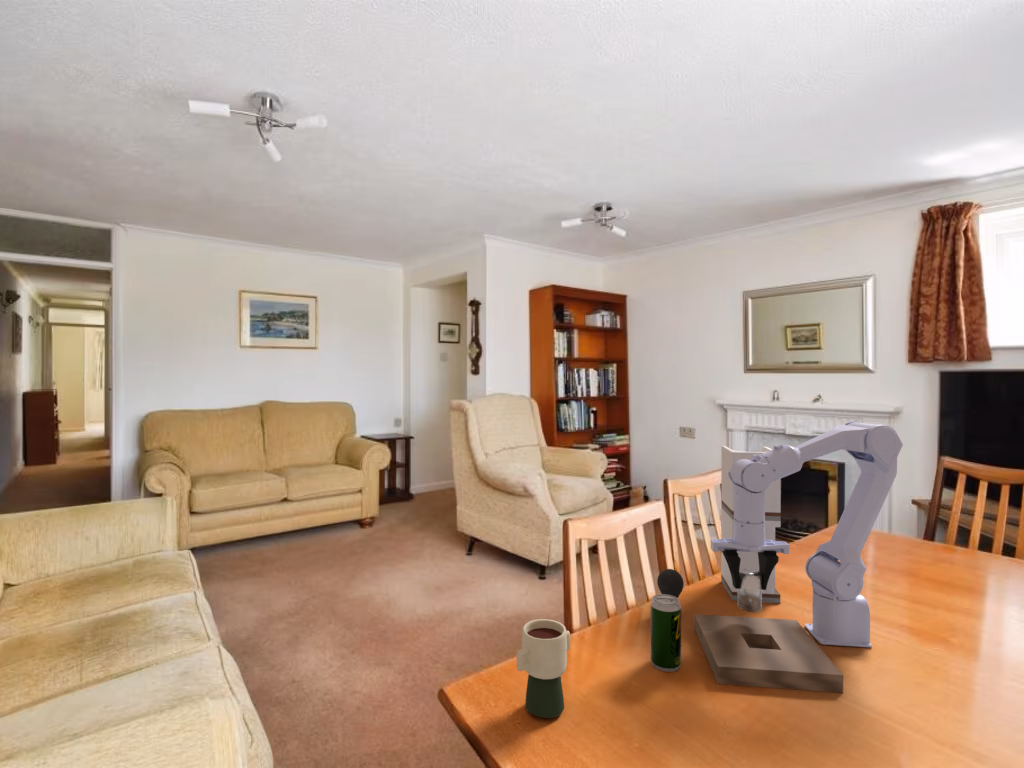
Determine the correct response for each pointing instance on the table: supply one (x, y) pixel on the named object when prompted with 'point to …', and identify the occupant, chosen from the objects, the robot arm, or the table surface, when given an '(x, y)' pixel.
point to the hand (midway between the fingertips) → (749, 587)
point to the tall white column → (727, 522)
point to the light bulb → (670, 582)
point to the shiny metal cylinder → (750, 590)
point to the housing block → (765, 654)
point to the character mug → (544, 665)
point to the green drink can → (665, 632)
